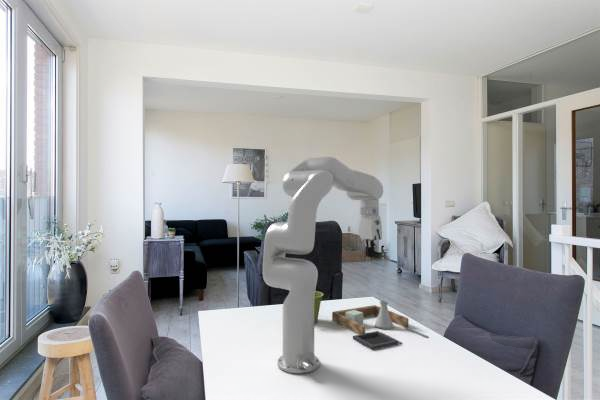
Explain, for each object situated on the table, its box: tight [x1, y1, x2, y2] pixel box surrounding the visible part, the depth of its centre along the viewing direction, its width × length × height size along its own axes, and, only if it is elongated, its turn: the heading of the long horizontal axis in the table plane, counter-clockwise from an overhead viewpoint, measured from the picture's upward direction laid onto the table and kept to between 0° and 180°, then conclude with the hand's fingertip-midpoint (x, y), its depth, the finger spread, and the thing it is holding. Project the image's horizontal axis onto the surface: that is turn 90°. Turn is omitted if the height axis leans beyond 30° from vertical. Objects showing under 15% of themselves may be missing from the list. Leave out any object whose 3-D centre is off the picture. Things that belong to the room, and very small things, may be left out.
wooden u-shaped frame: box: [331, 304, 409, 335], centre depth 150 cm, size 20×22×4 cm
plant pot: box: [314, 290, 324, 324], centre depth 153 cm, size 12×12×11 cm
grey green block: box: [345, 310, 364, 326], centre depth 148 cm, size 5×5×5 cm
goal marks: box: [380, 326, 429, 345], centre depth 136 cm, size 11×13×1 cm
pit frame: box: [352, 330, 399, 351], centre depth 131 cm, size 11×11×1 cm
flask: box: [374, 299, 394, 330], centre depth 146 cm, size 7×7×10 cm
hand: (369, 256), depth 155 cm, fingers closed
